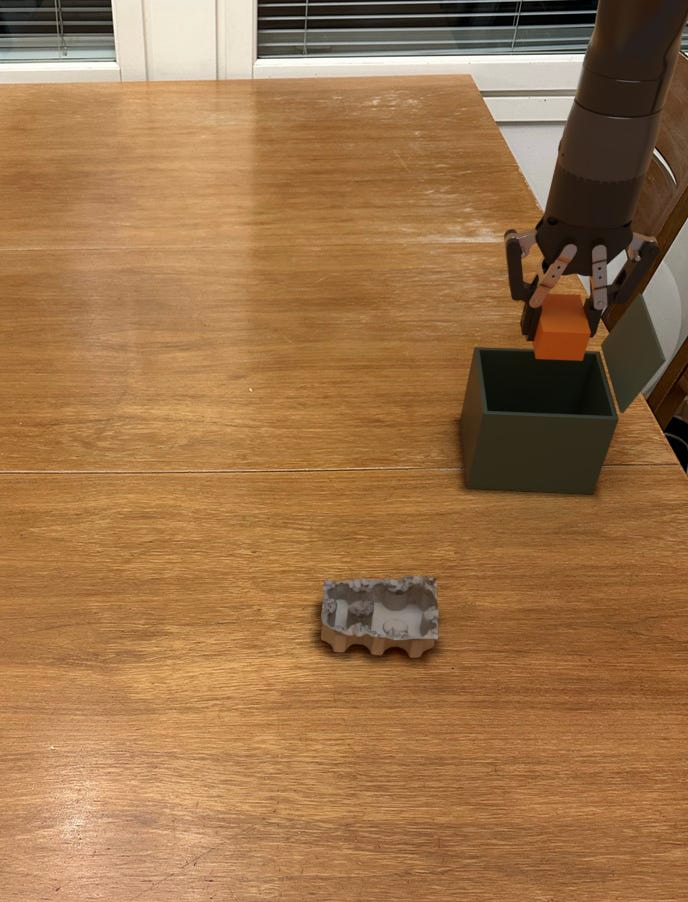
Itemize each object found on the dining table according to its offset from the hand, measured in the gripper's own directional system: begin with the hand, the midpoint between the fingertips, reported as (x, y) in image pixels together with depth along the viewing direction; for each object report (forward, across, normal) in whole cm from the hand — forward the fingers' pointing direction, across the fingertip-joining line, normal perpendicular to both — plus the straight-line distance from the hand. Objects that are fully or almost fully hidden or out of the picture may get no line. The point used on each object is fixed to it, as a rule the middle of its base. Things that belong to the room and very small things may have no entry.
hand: (555, 337), depth 96 cm
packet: (0, 0, 0) cm, 0 cm away
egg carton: (+15, -16, -27) cm, 35 cm away
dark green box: (+15, 0, 0) cm, 15 cm away
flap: (+1, +7, 0) cm, 8 cm away
